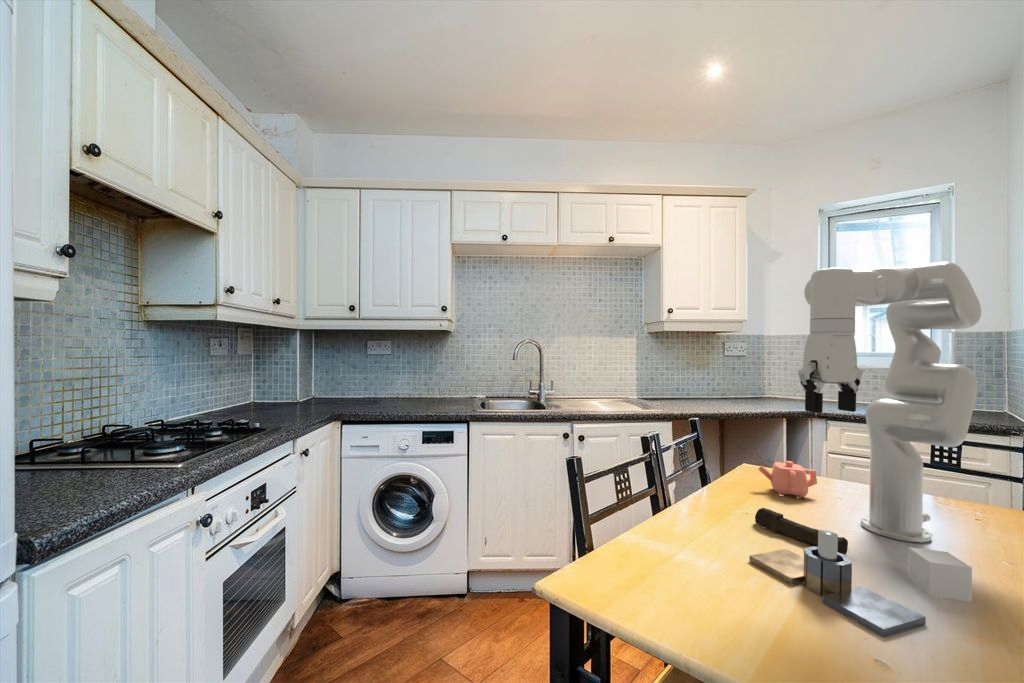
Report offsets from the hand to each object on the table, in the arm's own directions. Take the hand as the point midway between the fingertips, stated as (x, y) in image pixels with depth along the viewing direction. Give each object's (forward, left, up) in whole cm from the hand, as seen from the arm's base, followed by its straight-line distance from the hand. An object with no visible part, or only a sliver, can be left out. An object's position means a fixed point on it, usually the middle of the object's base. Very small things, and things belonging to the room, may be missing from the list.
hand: (830, 411), depth 89 cm
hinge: (+12, +8, -30) cm, 34 cm away
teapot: (-30, -33, -31) cm, 54 cm away
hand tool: (-2, -9, -31) cm, 32 cm away
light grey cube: (-8, +14, -31) cm, 35 cm away
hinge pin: (+12, +8, -30) cm, 34 cm away
